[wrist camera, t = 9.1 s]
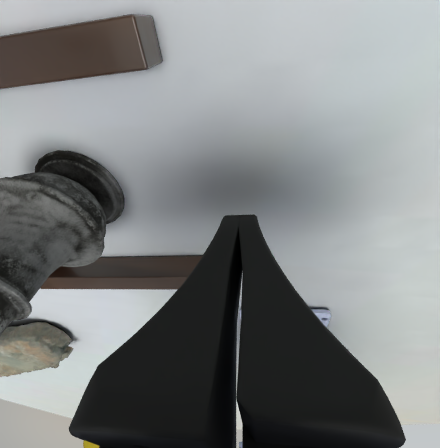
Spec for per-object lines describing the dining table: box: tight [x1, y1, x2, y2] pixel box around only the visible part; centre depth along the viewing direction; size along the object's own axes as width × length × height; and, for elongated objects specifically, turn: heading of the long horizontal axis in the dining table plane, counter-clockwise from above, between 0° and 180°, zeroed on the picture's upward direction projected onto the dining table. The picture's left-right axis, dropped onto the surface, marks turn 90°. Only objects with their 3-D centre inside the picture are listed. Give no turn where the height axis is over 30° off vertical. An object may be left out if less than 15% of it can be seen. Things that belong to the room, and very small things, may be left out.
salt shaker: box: [0, 151, 124, 335], centre depth 10 cm, size 6×6×12 cm
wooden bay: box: [0, 14, 202, 289], centre depth 14 cm, size 15×14×2 cm
